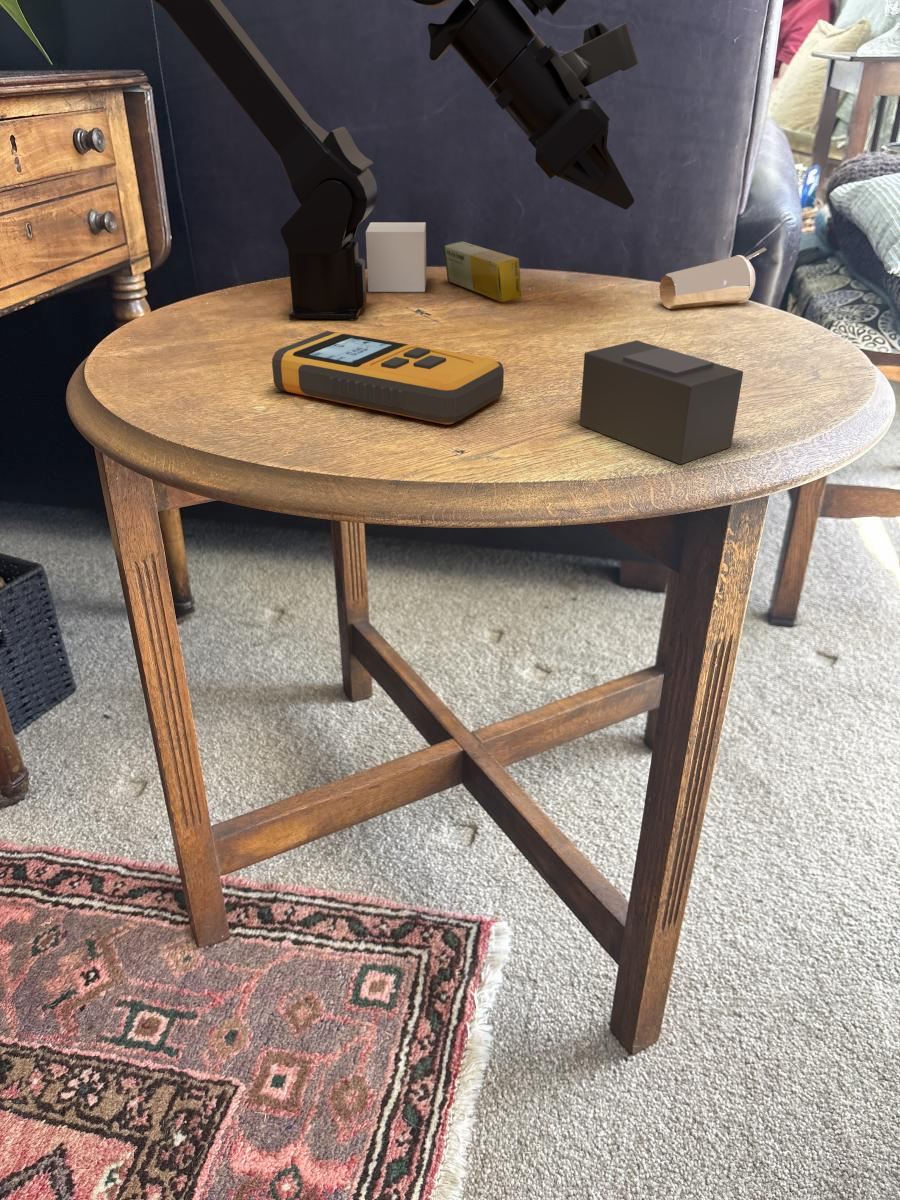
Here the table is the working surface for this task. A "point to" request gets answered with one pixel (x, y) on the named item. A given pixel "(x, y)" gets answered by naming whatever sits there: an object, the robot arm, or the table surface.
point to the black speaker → (660, 400)
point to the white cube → (396, 256)
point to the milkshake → (710, 283)
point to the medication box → (483, 271)
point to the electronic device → (388, 376)
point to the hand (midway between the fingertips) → (630, 205)
